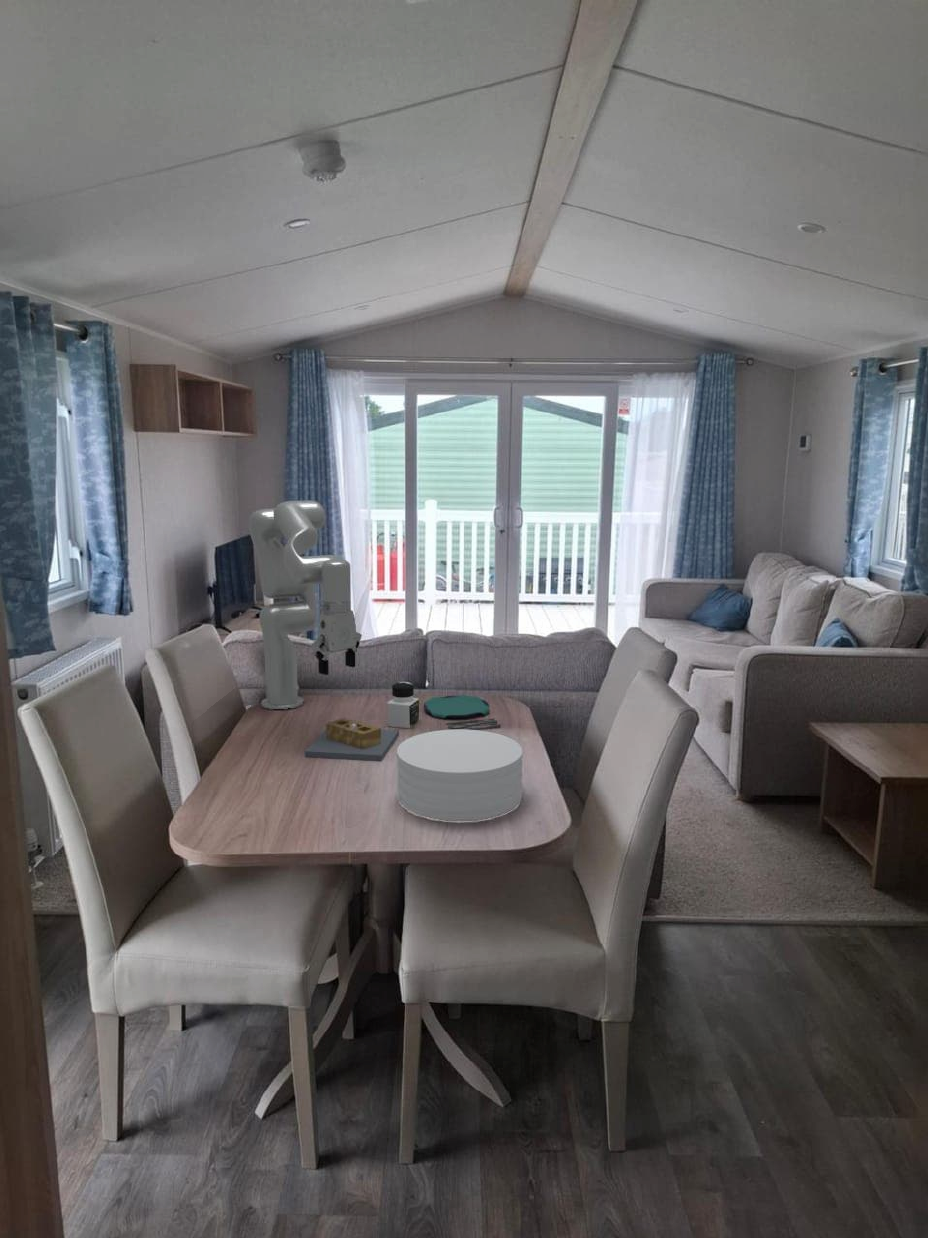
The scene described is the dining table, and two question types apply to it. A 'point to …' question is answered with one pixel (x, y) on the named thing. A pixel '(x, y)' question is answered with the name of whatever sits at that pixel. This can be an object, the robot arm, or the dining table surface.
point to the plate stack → (459, 774)
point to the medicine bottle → (402, 706)
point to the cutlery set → (460, 710)
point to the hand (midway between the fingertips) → (337, 670)
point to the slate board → (351, 748)
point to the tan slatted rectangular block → (353, 733)
